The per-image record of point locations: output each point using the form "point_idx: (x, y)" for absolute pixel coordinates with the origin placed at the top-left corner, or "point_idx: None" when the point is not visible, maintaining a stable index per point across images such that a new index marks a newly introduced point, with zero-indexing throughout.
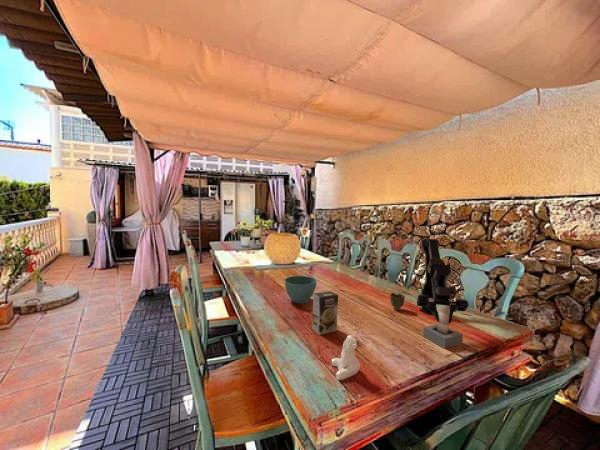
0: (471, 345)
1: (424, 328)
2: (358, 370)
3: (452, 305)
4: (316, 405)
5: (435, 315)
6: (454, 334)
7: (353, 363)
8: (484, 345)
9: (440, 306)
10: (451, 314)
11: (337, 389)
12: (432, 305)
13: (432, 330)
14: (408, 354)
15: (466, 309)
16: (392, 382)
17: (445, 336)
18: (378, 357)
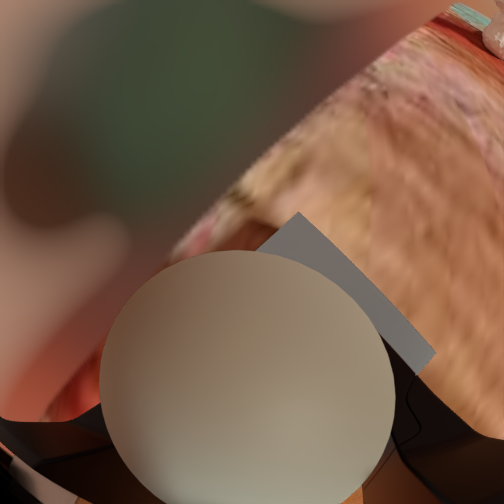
0: None
1: (429, 346)
2: (485, 44)
3: (33, 443)
4: (469, 9)
5: (391, 356)
6: None
7: (489, 24)
8: (98, 355)
9: (334, 424)
10: None
11: (474, 23)
12: (494, 449)
13: (378, 321)
14: (446, 126)
15: (7, 452)
16: (423, 30)
17: (291, 246)
18: (496, 95)
